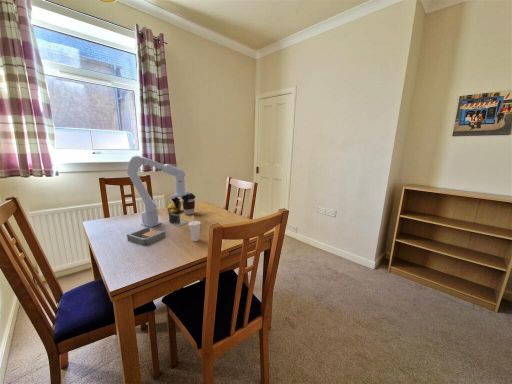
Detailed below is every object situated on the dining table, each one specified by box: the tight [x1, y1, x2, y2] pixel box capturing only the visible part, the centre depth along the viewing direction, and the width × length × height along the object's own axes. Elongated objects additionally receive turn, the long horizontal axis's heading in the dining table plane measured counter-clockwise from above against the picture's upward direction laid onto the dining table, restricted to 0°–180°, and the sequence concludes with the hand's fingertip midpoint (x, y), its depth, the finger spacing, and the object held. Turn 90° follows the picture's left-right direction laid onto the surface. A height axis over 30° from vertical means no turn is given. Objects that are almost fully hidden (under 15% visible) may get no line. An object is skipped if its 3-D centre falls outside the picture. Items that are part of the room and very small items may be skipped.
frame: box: [126, 226, 167, 246], centre depth 117 cm, size 14×13×3 cm
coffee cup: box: [180, 192, 196, 216], centre depth 159 cm, size 10×10×15 cm
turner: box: [168, 213, 189, 228], centre depth 140 cm, size 11×8×6 cm
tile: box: [141, 229, 161, 239], centre depth 121 cm, size 7×7×2 cm
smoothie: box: [187, 214, 201, 242], centre depth 115 cm, size 6×6×14 cm
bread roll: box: [166, 200, 183, 214], centre depth 162 cm, size 13×10×8 cm
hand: (181, 206), depth 144 cm, fingers open, 7 cm apart
